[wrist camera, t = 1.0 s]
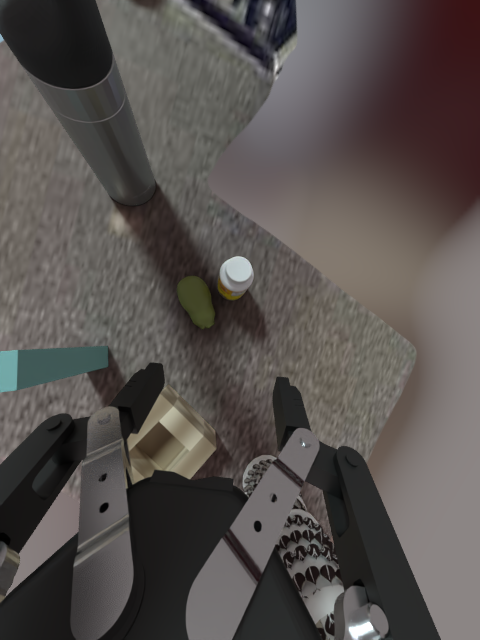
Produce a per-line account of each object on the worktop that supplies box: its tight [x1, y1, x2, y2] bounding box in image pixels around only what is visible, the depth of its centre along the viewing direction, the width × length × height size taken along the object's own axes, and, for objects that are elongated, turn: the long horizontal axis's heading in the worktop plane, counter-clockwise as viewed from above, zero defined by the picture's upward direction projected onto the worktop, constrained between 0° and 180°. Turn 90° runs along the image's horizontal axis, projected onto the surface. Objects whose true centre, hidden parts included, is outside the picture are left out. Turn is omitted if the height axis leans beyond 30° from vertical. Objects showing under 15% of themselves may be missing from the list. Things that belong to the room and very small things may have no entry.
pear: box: [177, 276, 215, 330], centre depth 34 cm, size 6×5×10 cm
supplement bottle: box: [218, 257, 254, 300], centre depth 33 cm, size 6×6×10 cm
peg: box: [0, 346, 108, 392], centre depth 25 cm, size 4×4×16 cm
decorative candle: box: [242, 455, 344, 640], centre depth 23 cm, size 9×9×25 cm
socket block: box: [127, 384, 217, 483], centre depth 30 cm, size 12×12×6 cm
